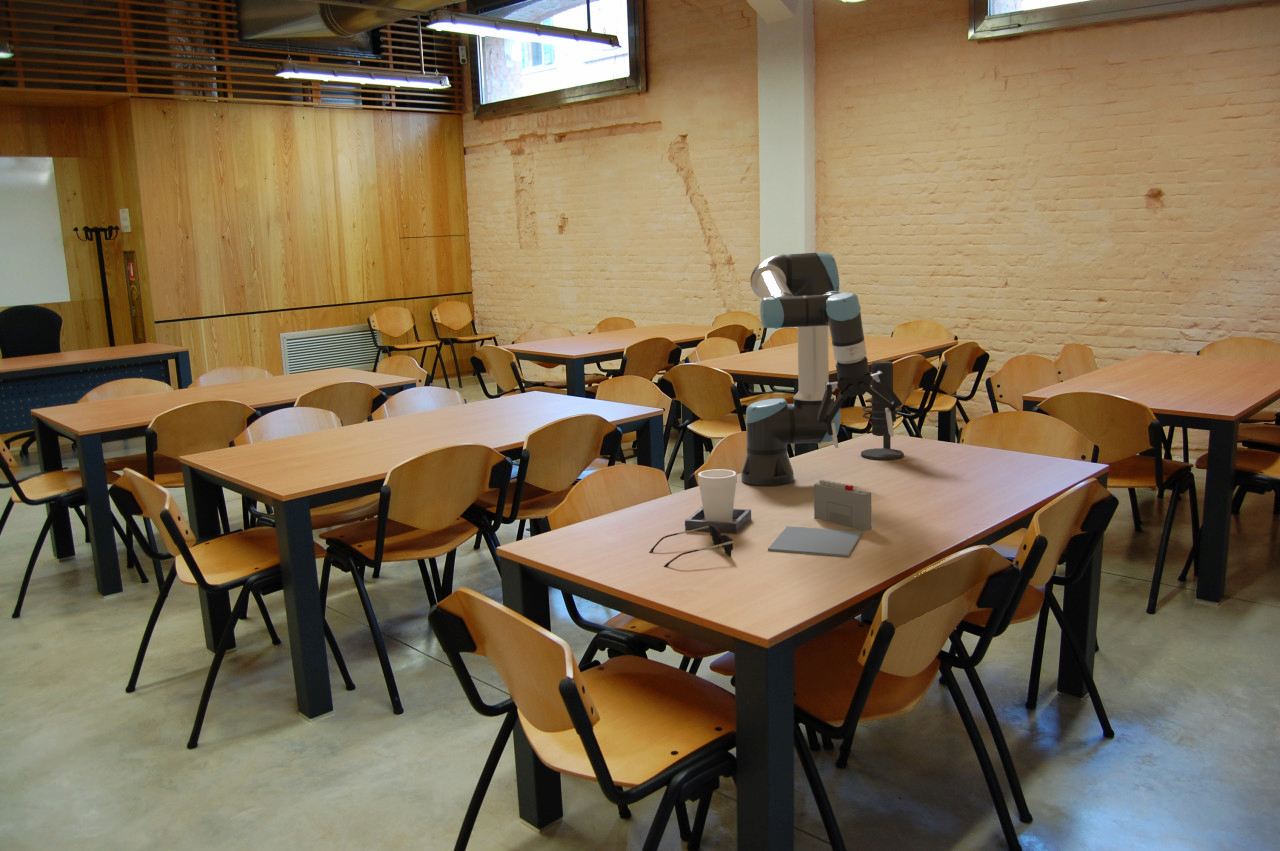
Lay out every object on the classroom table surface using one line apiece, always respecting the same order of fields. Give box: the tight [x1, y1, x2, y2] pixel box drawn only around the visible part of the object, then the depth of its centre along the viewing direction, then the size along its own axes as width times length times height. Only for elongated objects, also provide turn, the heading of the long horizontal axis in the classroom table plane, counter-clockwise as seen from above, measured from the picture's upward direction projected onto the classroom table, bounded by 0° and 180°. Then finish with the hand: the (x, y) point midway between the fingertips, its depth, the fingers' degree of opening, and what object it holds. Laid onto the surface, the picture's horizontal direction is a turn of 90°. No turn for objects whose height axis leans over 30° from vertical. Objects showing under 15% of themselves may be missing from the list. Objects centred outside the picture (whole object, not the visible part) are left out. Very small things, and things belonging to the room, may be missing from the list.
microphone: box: [860, 360, 905, 461], centre depth 303 cm, size 14×13×30 cm
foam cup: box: [697, 468, 738, 522], centre depth 237 cm, size 10×9×13 cm
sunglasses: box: [648, 525, 734, 568], centre depth 216 cm, size 14×16×5 cm
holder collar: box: [684, 506, 752, 535], centre depth 238 cm, size 13×13×2 cm
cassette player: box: [813, 479, 872, 532], centre depth 234 cm, size 16×3×10 cm, turn 38°
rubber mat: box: [767, 525, 863, 558], centre depth 221 cm, size 18×18×1 cm
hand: (863, 440), depth 235 cm, fingers open, 13 cm apart
